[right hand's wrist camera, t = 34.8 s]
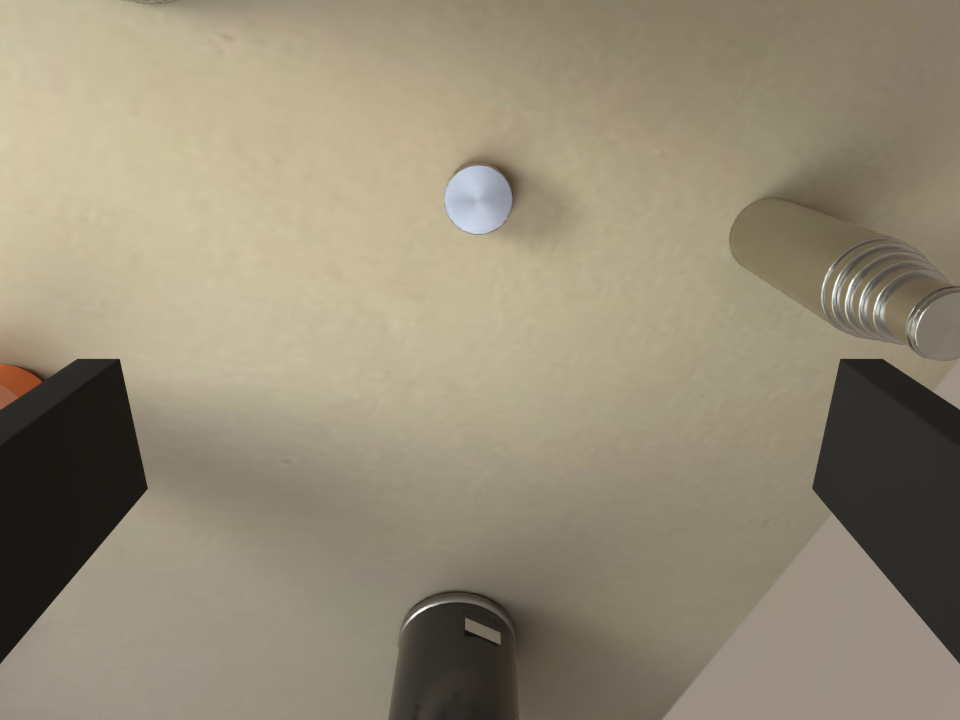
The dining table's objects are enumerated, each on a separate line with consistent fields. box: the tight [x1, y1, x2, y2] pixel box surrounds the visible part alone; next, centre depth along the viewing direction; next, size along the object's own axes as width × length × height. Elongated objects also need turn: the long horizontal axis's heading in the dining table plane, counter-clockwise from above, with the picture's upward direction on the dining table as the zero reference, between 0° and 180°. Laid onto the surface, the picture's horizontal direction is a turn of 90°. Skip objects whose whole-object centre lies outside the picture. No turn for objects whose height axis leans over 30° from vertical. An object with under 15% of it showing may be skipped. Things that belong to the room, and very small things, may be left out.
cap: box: [444, 162, 513, 235], centre depth 40 cm, size 4×4×2 cm
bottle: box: [730, 198, 960, 361], centre depth 34 cm, size 5×5×18 cm
